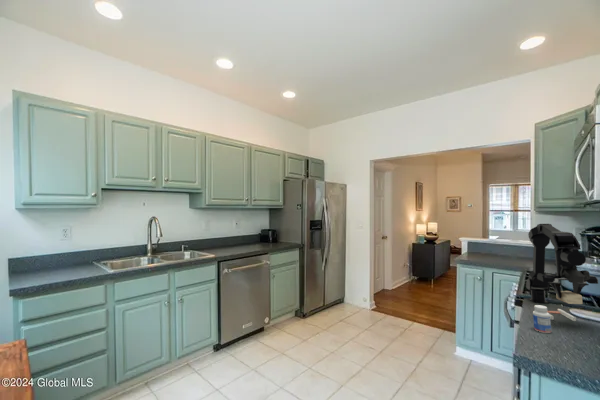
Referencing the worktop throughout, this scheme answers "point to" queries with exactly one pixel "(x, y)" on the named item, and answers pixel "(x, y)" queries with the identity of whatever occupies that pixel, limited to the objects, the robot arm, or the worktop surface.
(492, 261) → the worktop surface
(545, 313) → the pill bottle
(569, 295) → the birch block
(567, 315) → the channel
